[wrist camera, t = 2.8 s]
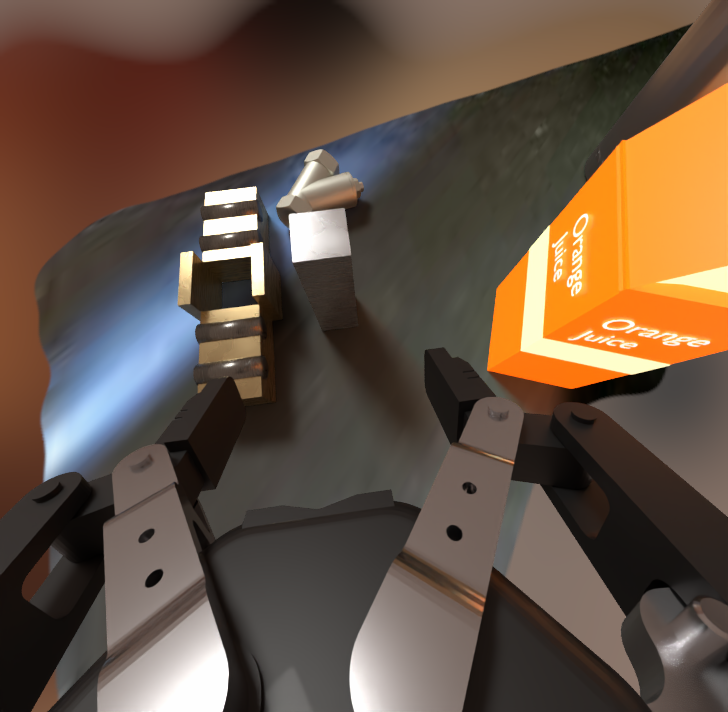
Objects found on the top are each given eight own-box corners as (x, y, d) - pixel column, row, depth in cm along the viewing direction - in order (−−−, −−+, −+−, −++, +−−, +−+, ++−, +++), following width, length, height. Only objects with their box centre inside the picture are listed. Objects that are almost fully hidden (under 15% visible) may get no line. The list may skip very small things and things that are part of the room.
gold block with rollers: (276, 212, 31) (260, 171, 26) (287, 400, 25) (267, 391, 20) (214, 220, 31) (185, 180, 26) (209, 411, 25) (171, 404, 20)
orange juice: (485, 370, 26) (826, 169, 7) (495, 287, 28) (766, -38, 9) (573, 390, 25) (1237, 230, 6) (576, 303, 27) (1053, -11, 8)
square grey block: (353, 294, 28) (344, 207, 18) (358, 326, 27) (351, 255, 17) (319, 298, 28) (289, 214, 18) (322, 331, 27) (292, 262, 17)
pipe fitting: (366, 196, 32) (313, 175, 33) (368, 165, 29) (308, 142, 29) (338, 250, 30) (282, 228, 31) (337, 225, 27) (272, 200, 27)
